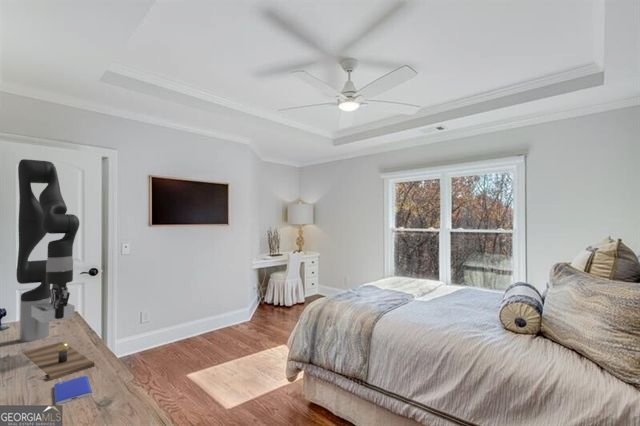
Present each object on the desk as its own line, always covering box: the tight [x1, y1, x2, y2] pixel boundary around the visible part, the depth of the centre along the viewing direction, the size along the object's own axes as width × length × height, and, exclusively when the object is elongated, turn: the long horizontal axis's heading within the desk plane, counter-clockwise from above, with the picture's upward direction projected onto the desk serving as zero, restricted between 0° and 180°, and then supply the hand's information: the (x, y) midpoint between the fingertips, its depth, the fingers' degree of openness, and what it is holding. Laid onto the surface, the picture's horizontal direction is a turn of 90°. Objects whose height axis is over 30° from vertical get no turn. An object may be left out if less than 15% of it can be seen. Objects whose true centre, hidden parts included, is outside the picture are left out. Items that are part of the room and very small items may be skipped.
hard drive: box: [53, 375, 93, 406], centre depth 94 cm, size 2×8×12 cm
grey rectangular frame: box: [31, 301, 76, 323], centre depth 117 cm, size 14×9×4 cm, turn 55°
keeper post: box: [57, 342, 70, 363], centre depth 110 cm, size 3×3×6 cm
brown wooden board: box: [22, 341, 95, 381], centre depth 114 cm, size 32×12×1 cm, turn 55°
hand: (58, 317), depth 113 cm, fingers closed on grey rectangular frame, 1 cm apart
